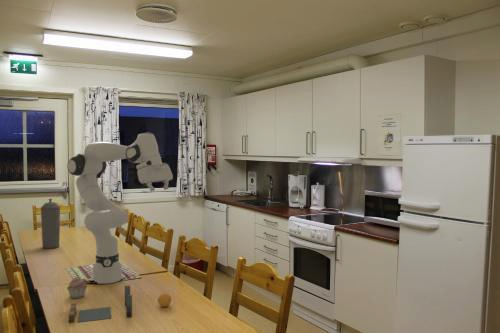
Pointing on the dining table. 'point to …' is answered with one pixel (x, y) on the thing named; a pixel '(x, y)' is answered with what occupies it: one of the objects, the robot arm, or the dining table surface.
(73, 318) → the stopper wall
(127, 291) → the post
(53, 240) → the canister
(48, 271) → the dining table surface
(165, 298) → the ball
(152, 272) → the dining table surface
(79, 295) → the cupcake
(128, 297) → the post
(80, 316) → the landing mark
